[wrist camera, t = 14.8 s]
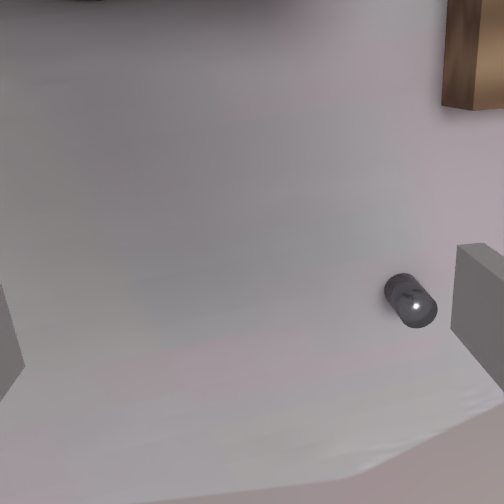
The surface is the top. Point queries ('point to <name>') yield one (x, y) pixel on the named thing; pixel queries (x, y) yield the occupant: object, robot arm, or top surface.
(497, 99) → the socket block
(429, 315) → the short pin
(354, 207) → the top surface
